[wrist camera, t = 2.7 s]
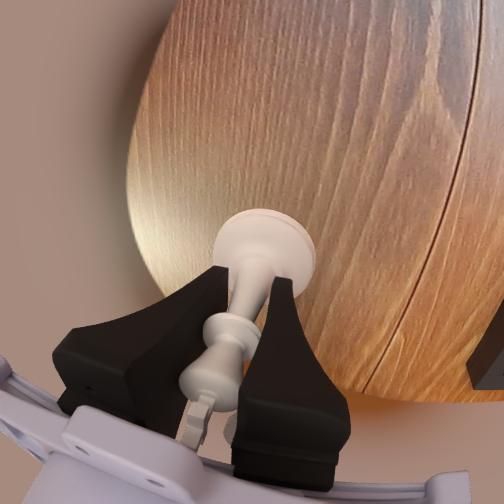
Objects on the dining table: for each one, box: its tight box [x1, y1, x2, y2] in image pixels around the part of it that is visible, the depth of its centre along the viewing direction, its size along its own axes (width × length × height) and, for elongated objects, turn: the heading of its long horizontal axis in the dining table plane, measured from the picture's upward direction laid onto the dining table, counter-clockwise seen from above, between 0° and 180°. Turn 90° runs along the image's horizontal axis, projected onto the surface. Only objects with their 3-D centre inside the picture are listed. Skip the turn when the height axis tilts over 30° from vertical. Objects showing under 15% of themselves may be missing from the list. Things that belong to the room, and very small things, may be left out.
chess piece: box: [179, 209, 316, 453], centre depth 11 cm, size 5×5×10 cm
